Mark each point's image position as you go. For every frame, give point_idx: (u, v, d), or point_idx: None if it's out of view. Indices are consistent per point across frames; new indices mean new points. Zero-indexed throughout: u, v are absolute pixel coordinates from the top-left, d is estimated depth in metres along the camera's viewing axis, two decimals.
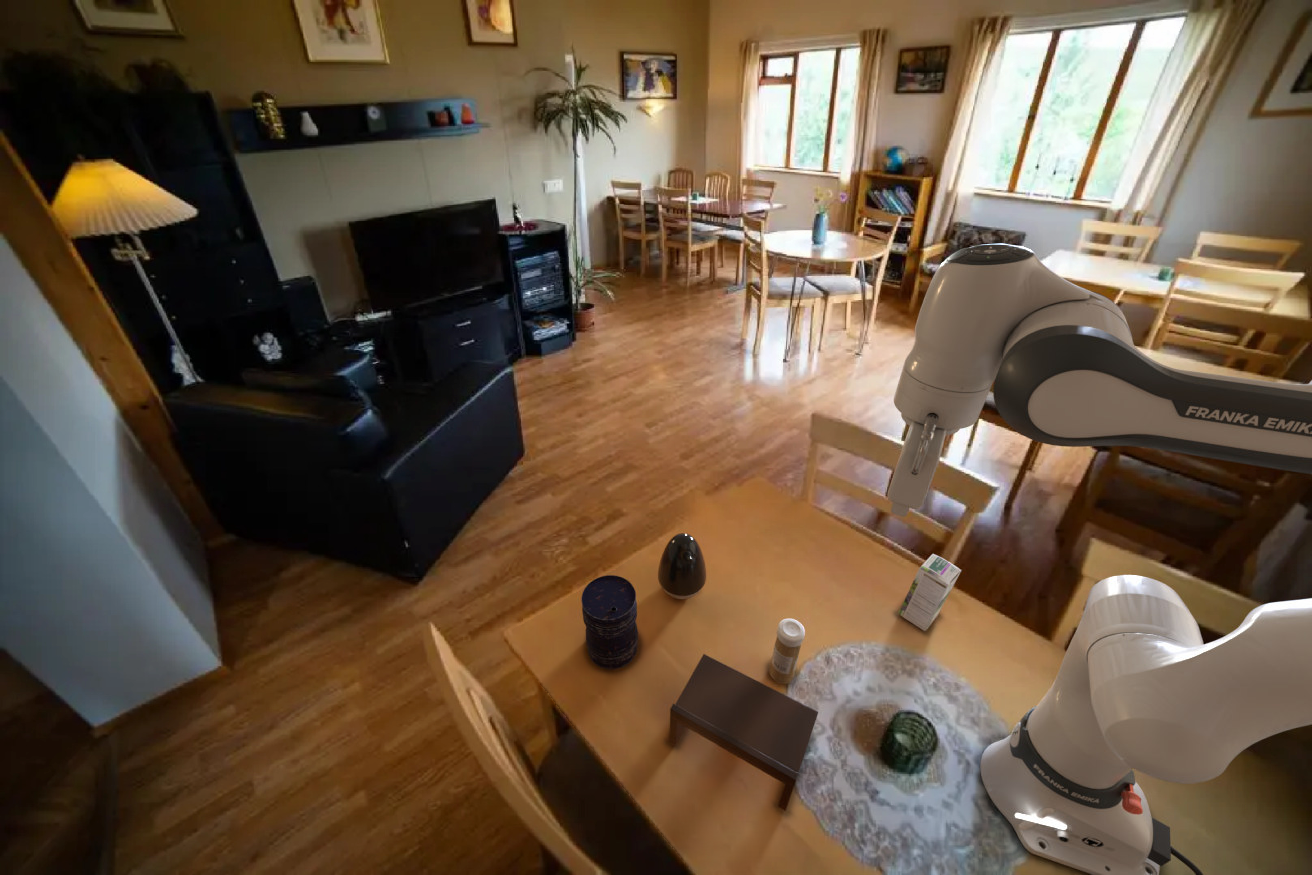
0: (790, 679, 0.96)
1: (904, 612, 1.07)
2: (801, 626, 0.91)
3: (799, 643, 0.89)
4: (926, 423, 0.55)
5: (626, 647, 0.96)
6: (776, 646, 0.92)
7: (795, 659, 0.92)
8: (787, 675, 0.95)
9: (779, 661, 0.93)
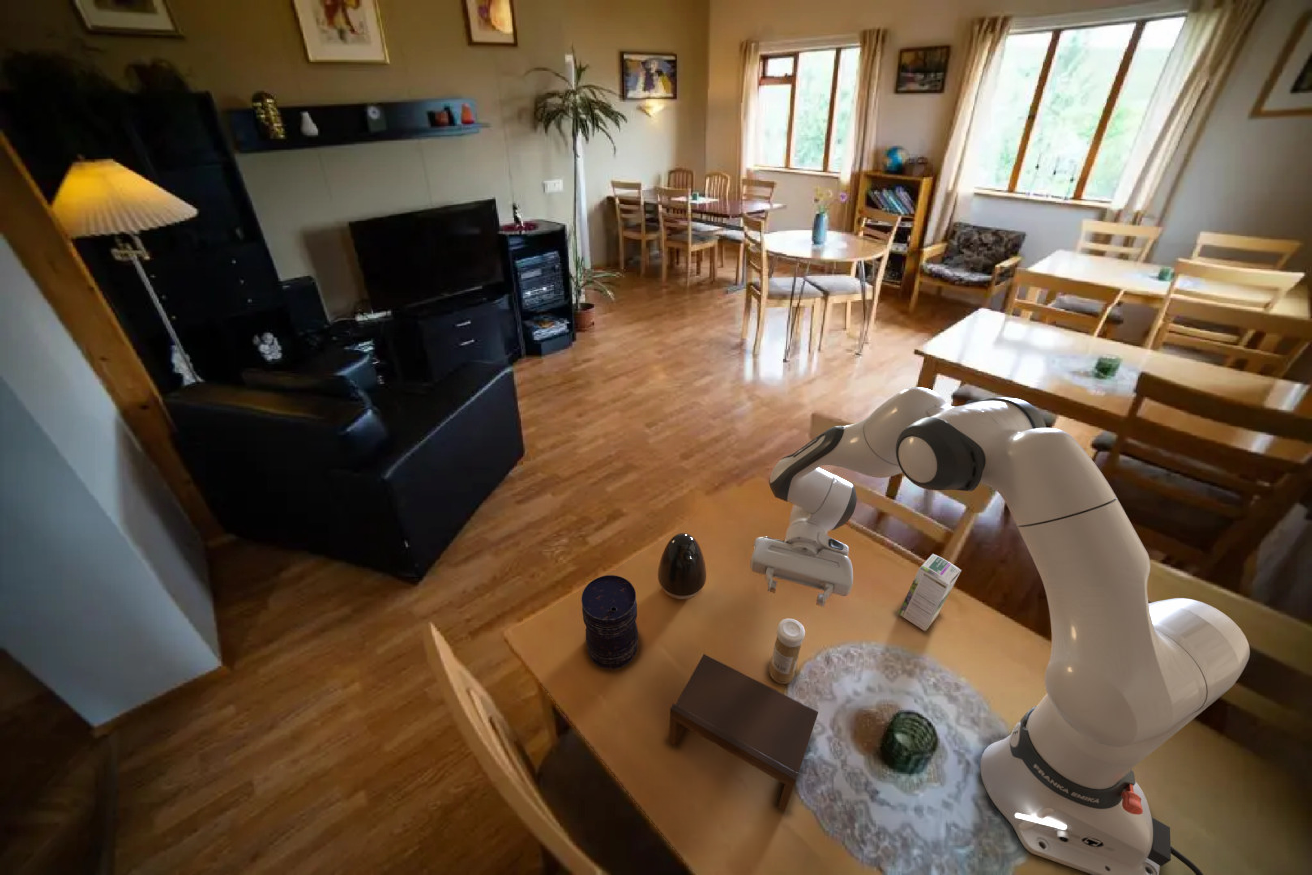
0: (790, 679, 0.96)
1: (904, 612, 1.07)
2: (801, 626, 0.91)
3: (799, 643, 0.89)
4: None
5: (626, 647, 0.96)
6: (776, 646, 0.92)
7: (795, 659, 0.92)
8: (787, 675, 0.95)
9: (779, 661, 0.93)
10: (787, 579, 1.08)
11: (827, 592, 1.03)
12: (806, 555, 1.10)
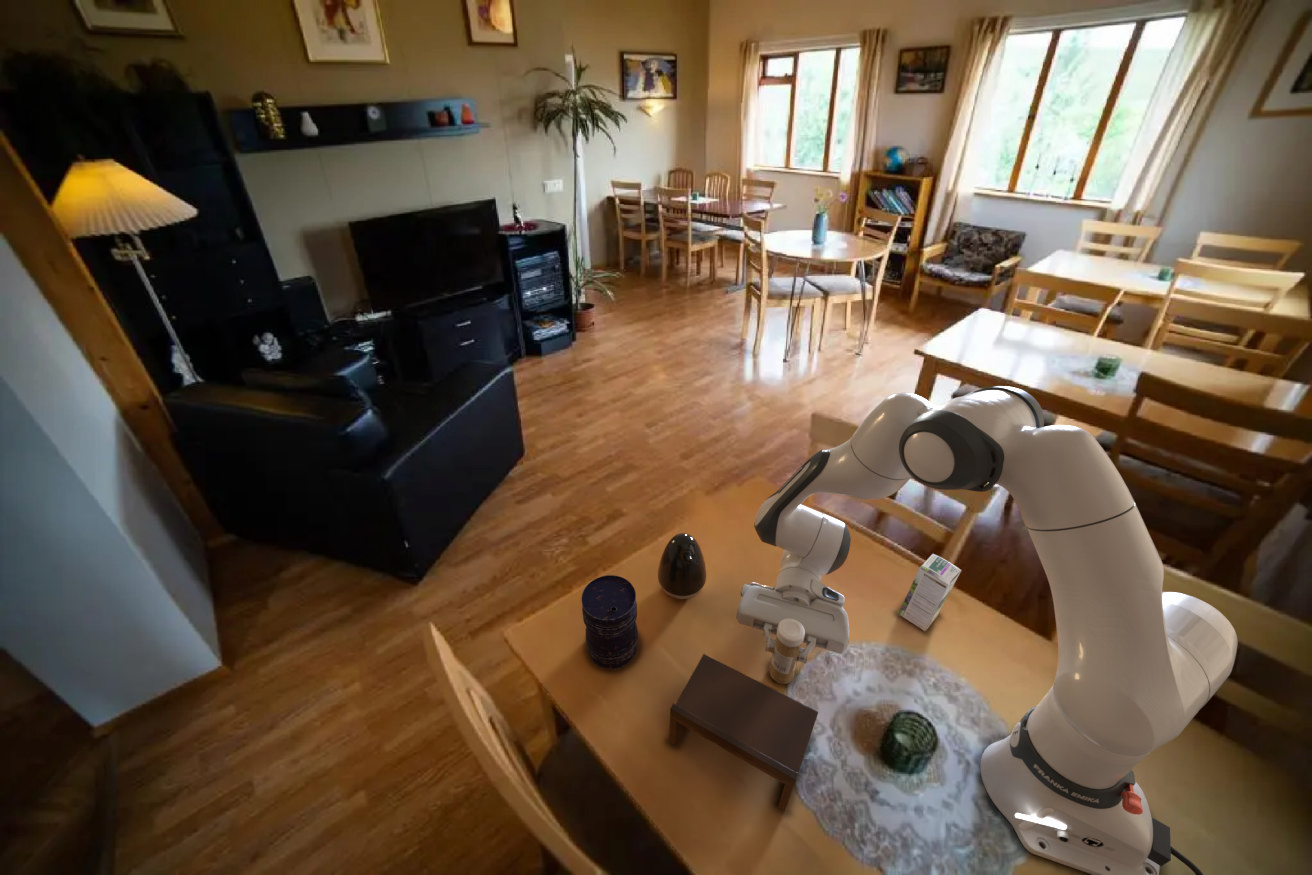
0: (790, 679, 0.96)
1: (904, 612, 1.07)
2: (801, 626, 0.91)
3: (799, 643, 0.89)
4: None
5: (626, 647, 0.96)
6: (776, 646, 0.92)
7: (795, 659, 0.92)
8: (787, 675, 0.95)
9: (779, 660, 0.93)
10: None
11: (809, 647, 0.94)
12: (798, 606, 1.00)
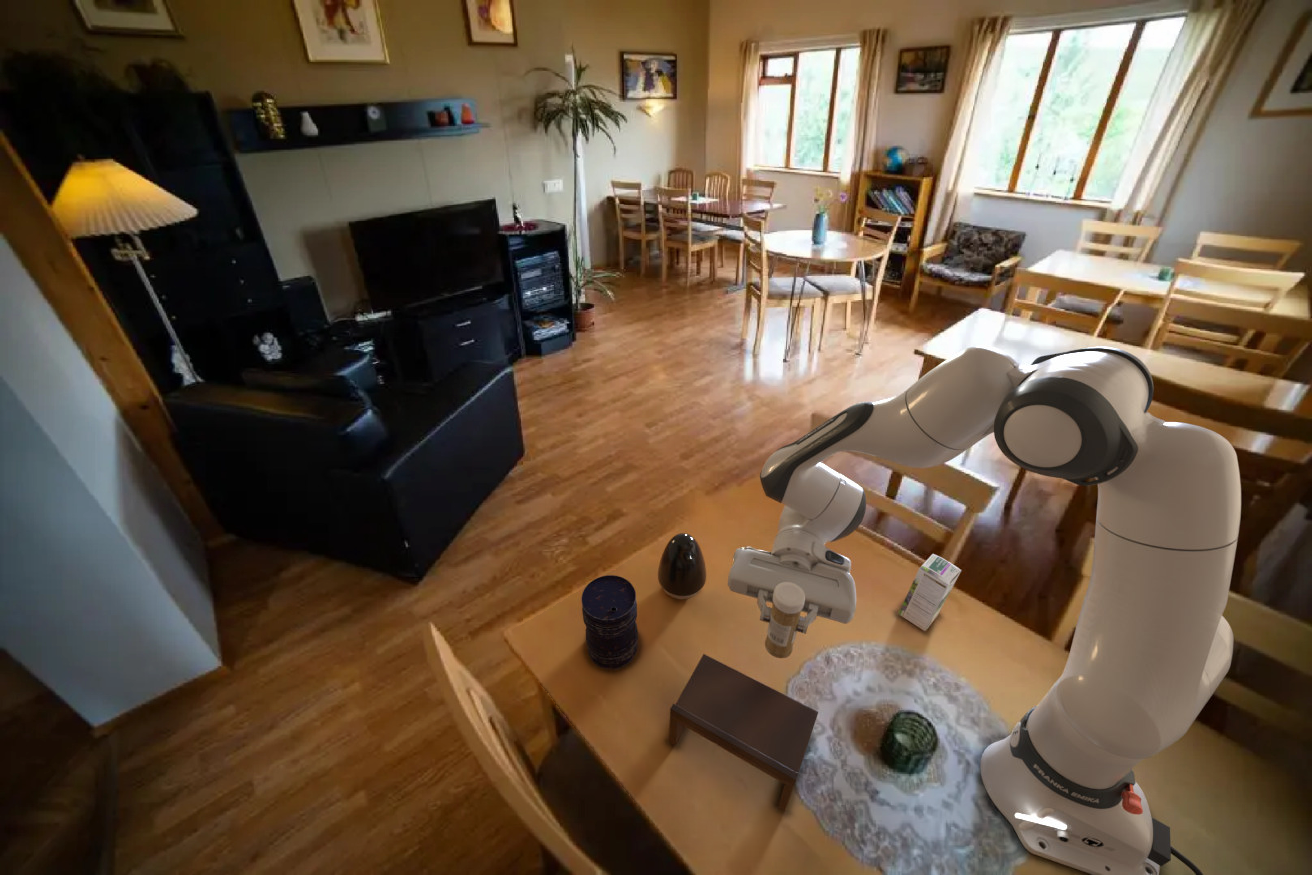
0: (788, 653, 0.84)
1: (904, 612, 1.07)
2: (801, 590, 0.79)
3: (798, 609, 0.77)
4: None
5: (626, 647, 0.96)
6: (772, 614, 0.80)
7: (794, 629, 0.80)
8: (785, 648, 0.83)
9: (776, 631, 0.81)
10: None
11: (810, 615, 0.81)
12: (798, 571, 0.88)
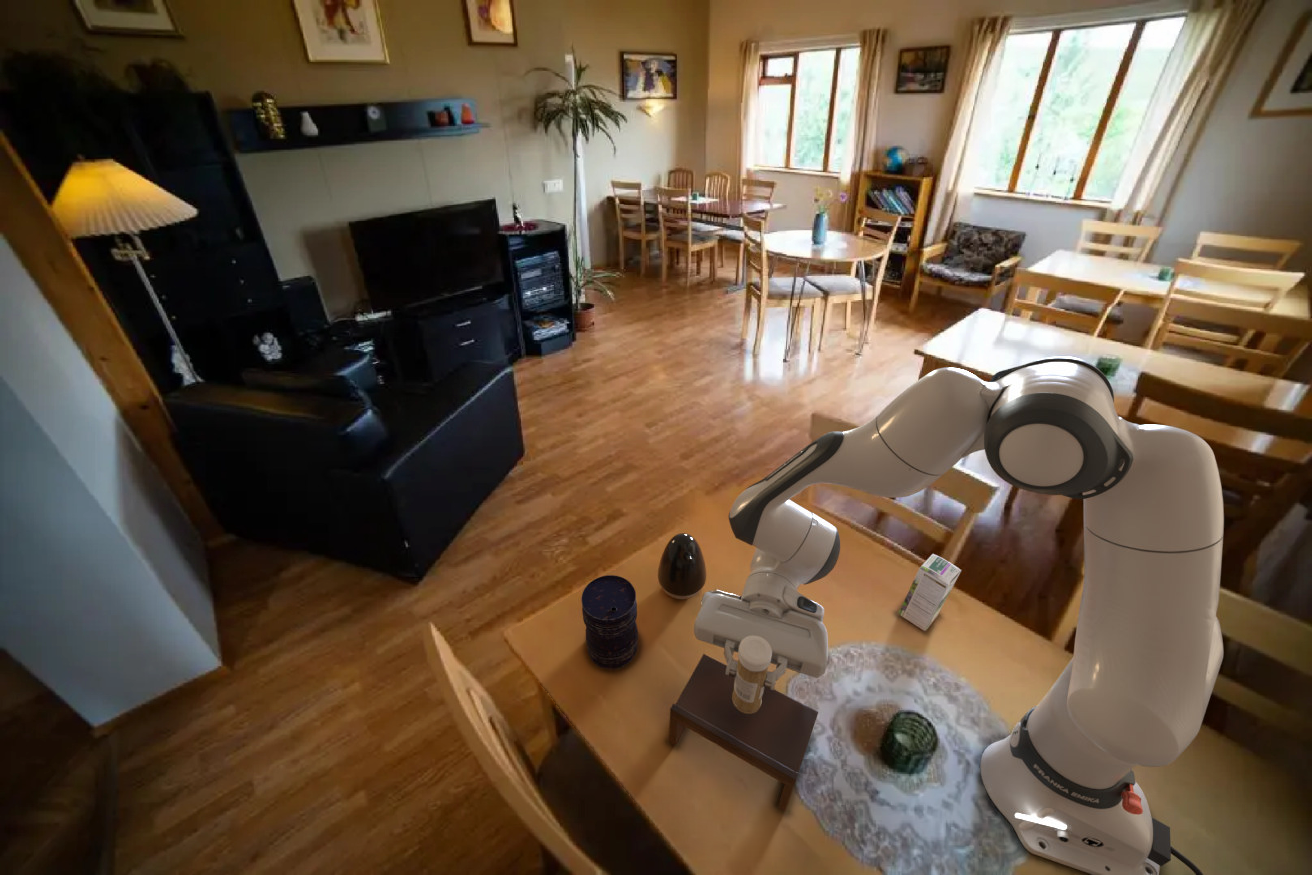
0: (756, 708, 0.79)
1: (904, 612, 1.07)
2: (767, 645, 0.74)
3: (764, 667, 0.72)
4: None
5: (626, 647, 0.96)
6: (738, 670, 0.76)
7: (761, 685, 0.76)
8: (752, 704, 0.78)
9: (742, 687, 0.76)
10: None
11: (779, 670, 0.77)
12: (768, 619, 0.83)
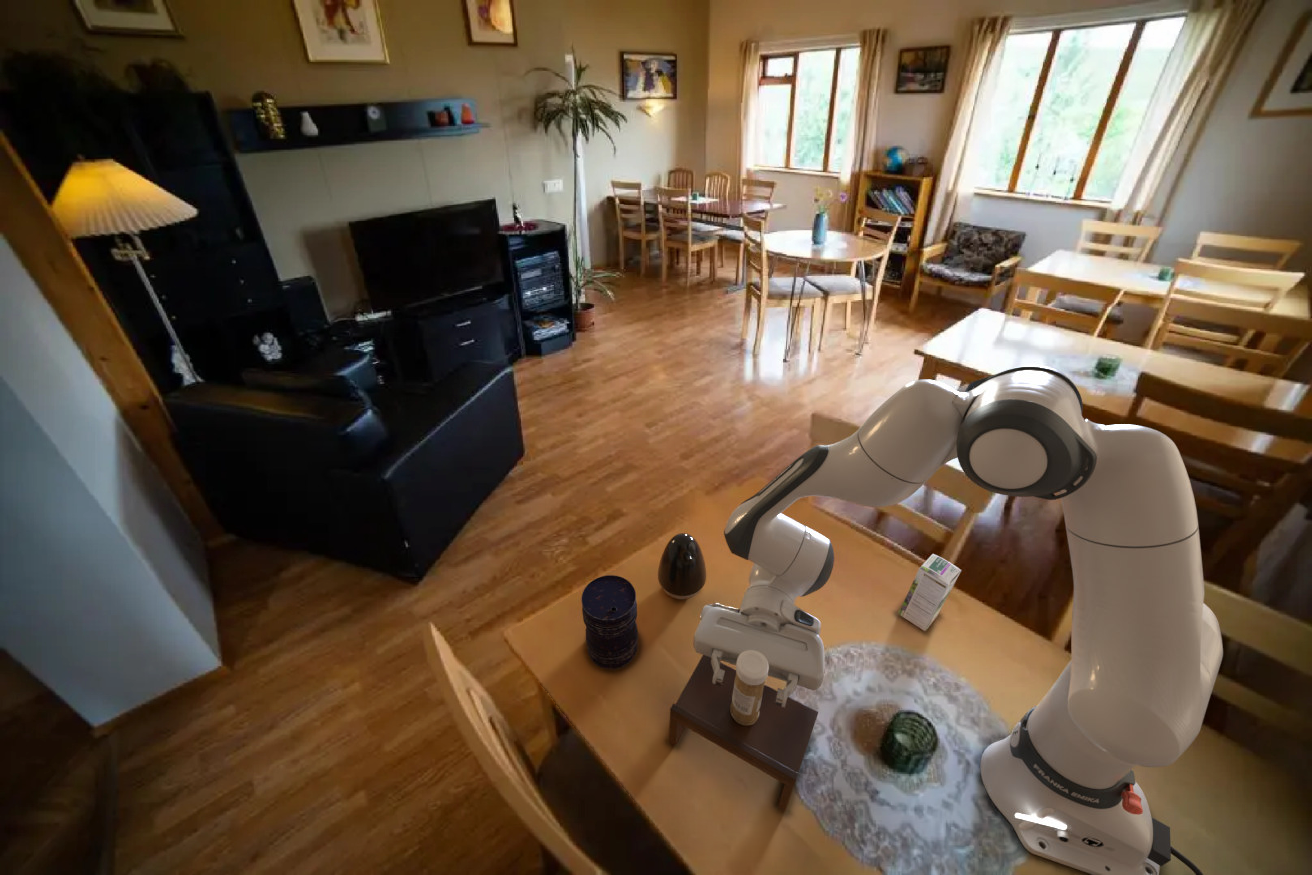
0: (754, 720, 0.81)
1: (904, 612, 1.07)
2: (764, 660, 0.76)
3: (761, 681, 0.74)
4: None
5: (626, 647, 0.96)
6: (736, 683, 0.78)
7: (758, 698, 0.78)
8: (750, 716, 0.80)
9: (740, 700, 0.78)
10: None
11: (790, 687, 0.78)
12: (766, 632, 0.85)
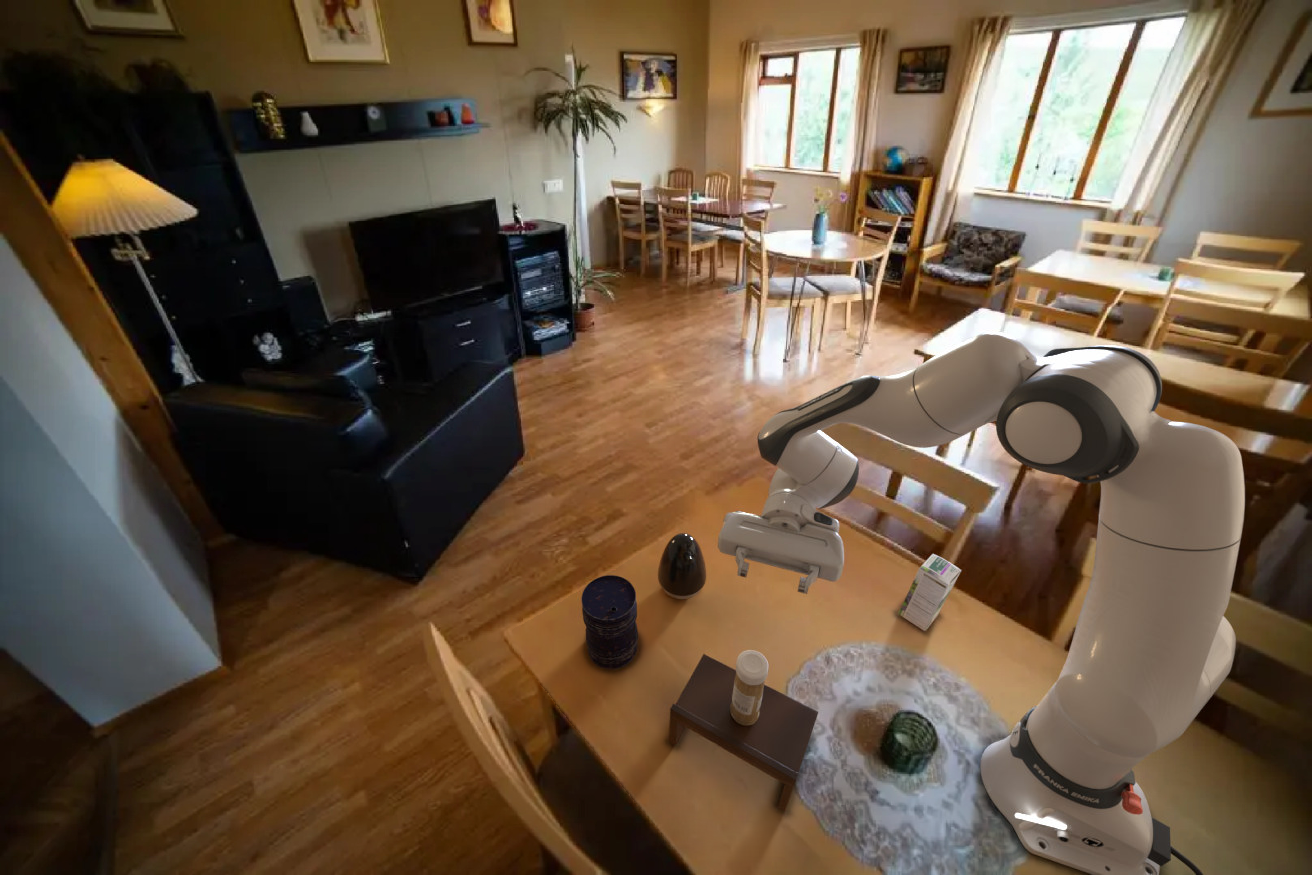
0: (754, 720, 0.81)
1: (904, 612, 1.07)
2: (764, 660, 0.76)
3: (761, 681, 0.74)
4: None
5: (626, 647, 0.96)
6: (736, 683, 0.78)
7: (758, 698, 0.78)
8: (750, 716, 0.80)
9: (740, 700, 0.78)
10: (763, 561, 0.87)
11: (811, 576, 0.82)
12: (787, 532, 0.89)
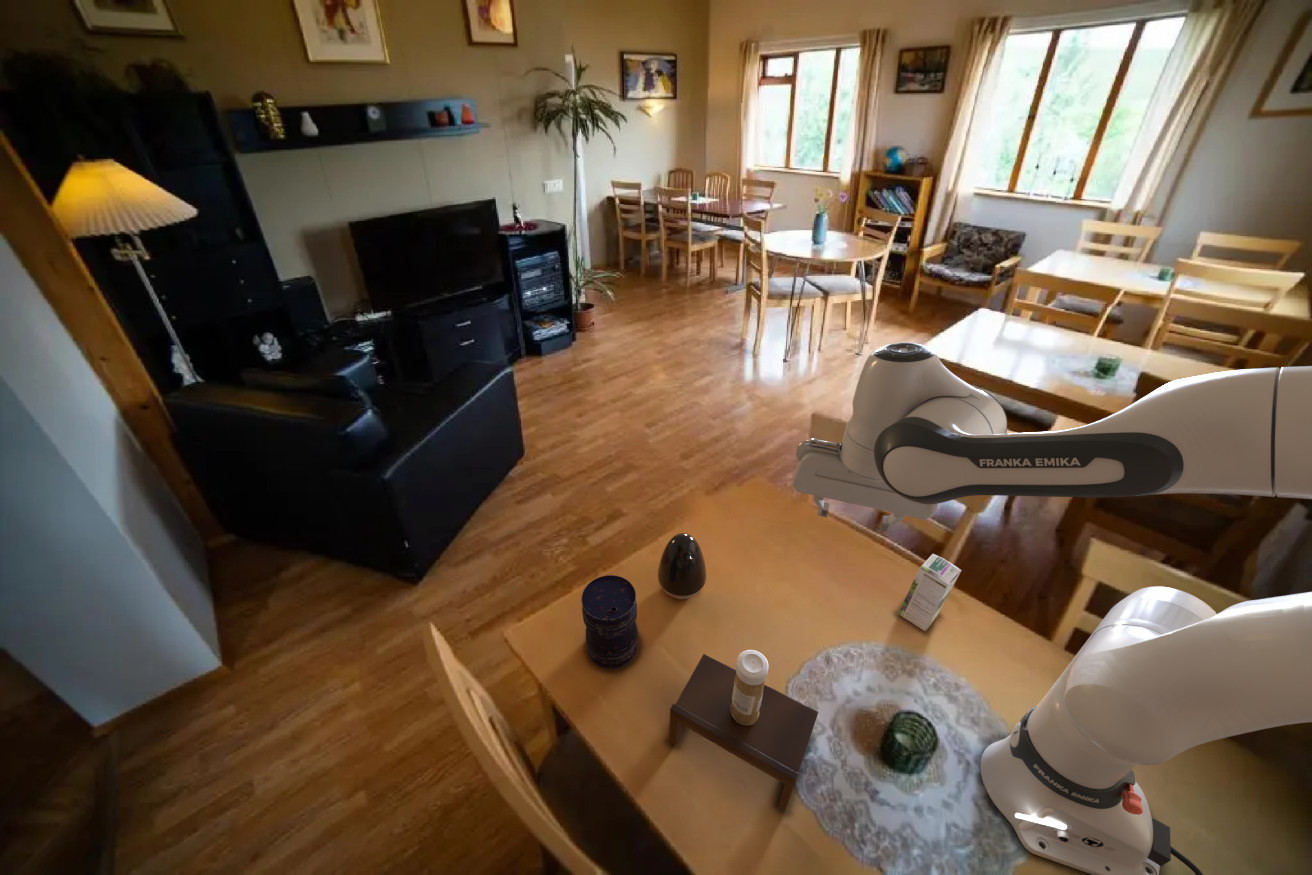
0: (754, 720, 0.81)
1: (904, 612, 1.07)
2: (764, 660, 0.76)
3: (761, 681, 0.74)
4: (827, 441, 0.78)
5: (626, 647, 0.96)
6: (736, 683, 0.78)
7: (758, 698, 0.78)
8: (750, 716, 0.80)
9: (740, 700, 0.78)
10: None
11: (895, 522, 0.80)
12: None
